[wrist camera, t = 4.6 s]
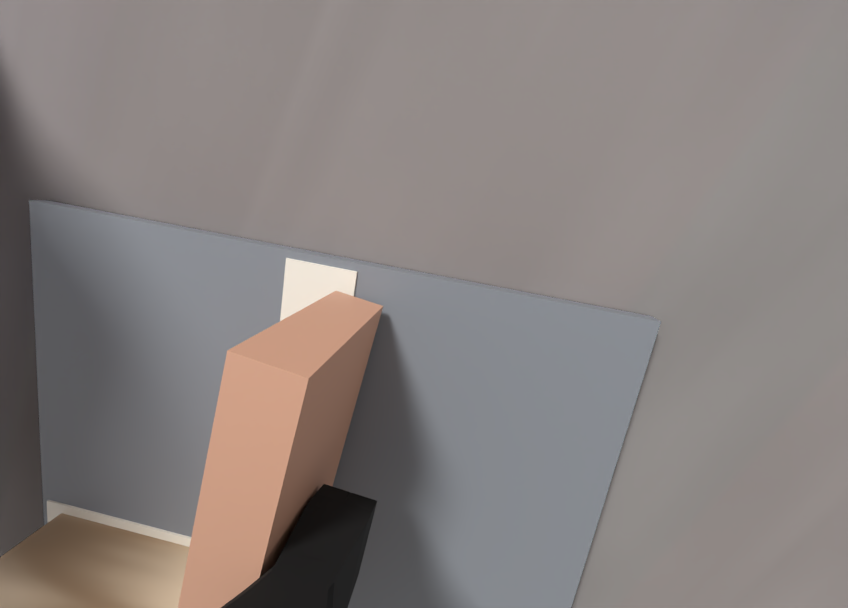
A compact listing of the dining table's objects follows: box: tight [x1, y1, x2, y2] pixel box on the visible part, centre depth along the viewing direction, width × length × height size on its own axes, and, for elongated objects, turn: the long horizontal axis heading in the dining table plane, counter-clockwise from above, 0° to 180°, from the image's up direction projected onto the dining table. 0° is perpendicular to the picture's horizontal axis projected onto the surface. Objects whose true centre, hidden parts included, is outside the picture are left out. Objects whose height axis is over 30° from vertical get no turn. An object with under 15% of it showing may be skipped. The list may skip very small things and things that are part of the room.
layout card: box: [29, 200, 661, 608], centre depth 12 cm, size 16×14×1 cm
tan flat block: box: [178, 291, 383, 608], centre depth 9 cm, size 8×1×4 cm, turn 163°
